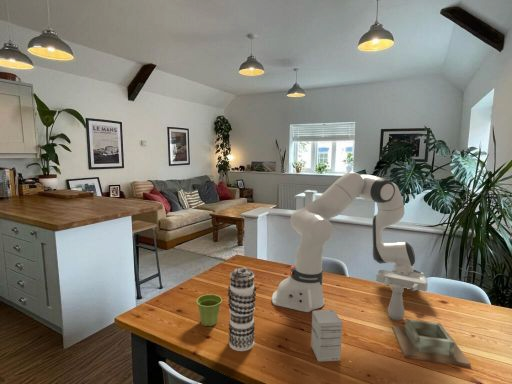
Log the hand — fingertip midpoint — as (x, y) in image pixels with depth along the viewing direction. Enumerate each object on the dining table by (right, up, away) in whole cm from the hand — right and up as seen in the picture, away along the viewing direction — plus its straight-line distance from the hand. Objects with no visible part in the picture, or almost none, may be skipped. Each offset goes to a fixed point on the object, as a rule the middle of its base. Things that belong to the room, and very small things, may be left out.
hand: (399, 286), depth 121 cm
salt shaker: (-6, -9, -10) cm, 15 cm away
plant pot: (-78, -9, -14) cm, 80 cm away
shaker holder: (-4, -11, -26) cm, 29 cm away
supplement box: (-39, -11, -31) cm, 51 cm away
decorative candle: (-65, -10, -26) cm, 71 cm away
